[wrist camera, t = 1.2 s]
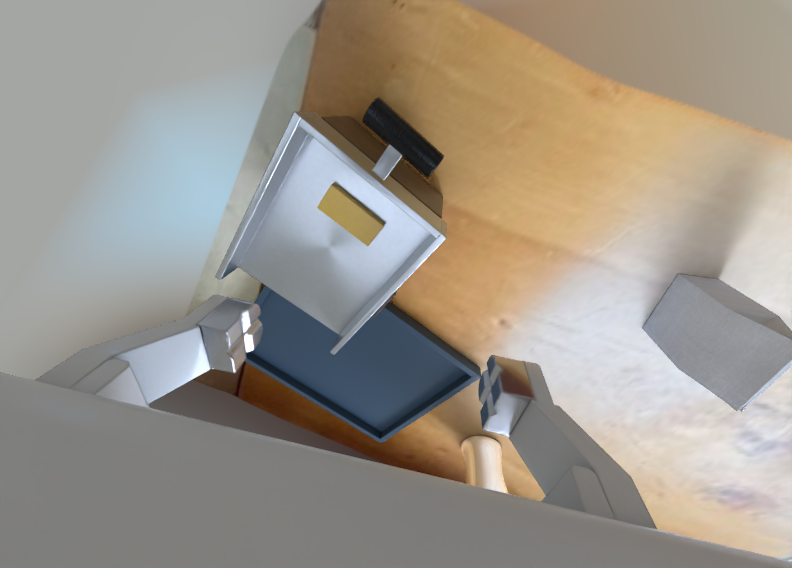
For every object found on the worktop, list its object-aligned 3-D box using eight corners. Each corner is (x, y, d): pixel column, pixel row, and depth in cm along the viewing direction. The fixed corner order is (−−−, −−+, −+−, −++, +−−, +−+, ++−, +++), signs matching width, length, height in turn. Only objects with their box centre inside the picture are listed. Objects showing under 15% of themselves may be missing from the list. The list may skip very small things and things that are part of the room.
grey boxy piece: (642, 328, 32) (713, 407, 23) (678, 273, 29) (776, 342, 20) (678, 333, 32) (763, 415, 23) (719, 279, 28) (837, 352, 20)
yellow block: (319, 205, 23) (316, 207, 22) (333, 182, 22) (331, 184, 21) (369, 244, 24) (367, 247, 23) (385, 223, 23) (384, 226, 22)
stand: (283, 200, 31) (240, 223, 24) (336, 104, 26) (299, 101, 19) (388, 278, 34) (373, 317, 27) (454, 206, 29) (456, 233, 22)
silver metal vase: (466, 428, 45) (474, 555, 32) (511, 440, 44) (537, 574, 32) (452, 453, 48) (454, 576, 35) (494, 464, 48) (510, 592, 35)
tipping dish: (236, 261, 27) (212, 278, 24) (341, 57, 18) (321, 47, 15) (343, 334, 30) (332, 357, 27) (482, 185, 21) (487, 197, 18)
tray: (232, 342, 43) (225, 349, 42) (298, 235, 33) (292, 240, 31) (382, 434, 49) (381, 443, 47) (480, 367, 38) (481, 377, 37)
